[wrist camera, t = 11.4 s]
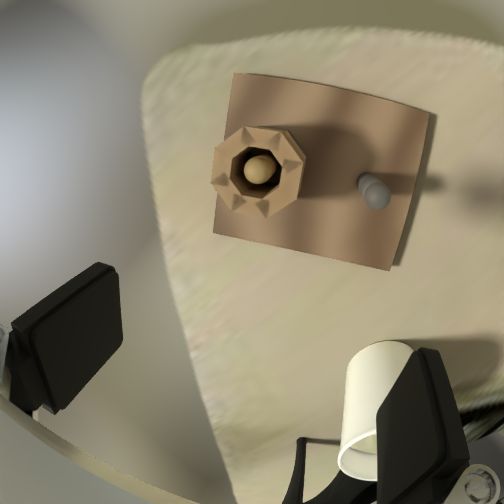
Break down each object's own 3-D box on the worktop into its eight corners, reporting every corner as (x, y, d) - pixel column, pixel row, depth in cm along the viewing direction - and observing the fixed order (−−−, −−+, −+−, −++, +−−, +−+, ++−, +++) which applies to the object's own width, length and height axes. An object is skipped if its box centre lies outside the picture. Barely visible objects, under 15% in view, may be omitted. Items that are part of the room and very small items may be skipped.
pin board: (425, 113, 22) (458, 111, 15) (387, 265, 27) (403, 306, 21) (237, 75, 24) (209, 59, 17) (217, 228, 29) (187, 259, 23)
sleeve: (311, 134, 23) (308, 136, 18) (298, 202, 26) (292, 224, 20) (240, 123, 24) (217, 122, 19) (231, 189, 27) (207, 207, 21)
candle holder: (415, 321, 29) (444, 409, 18) (429, 381, 31) (448, 463, 20) (327, 351, 32) (322, 443, 21) (353, 406, 35) (352, 488, 24)
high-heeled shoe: (417, 438, 35) (427, 558, 17) (290, 453, 41) (266, 569, 23) (420, 405, 33) (439, 545, 15) (278, 424, 38) (246, 557, 20)
